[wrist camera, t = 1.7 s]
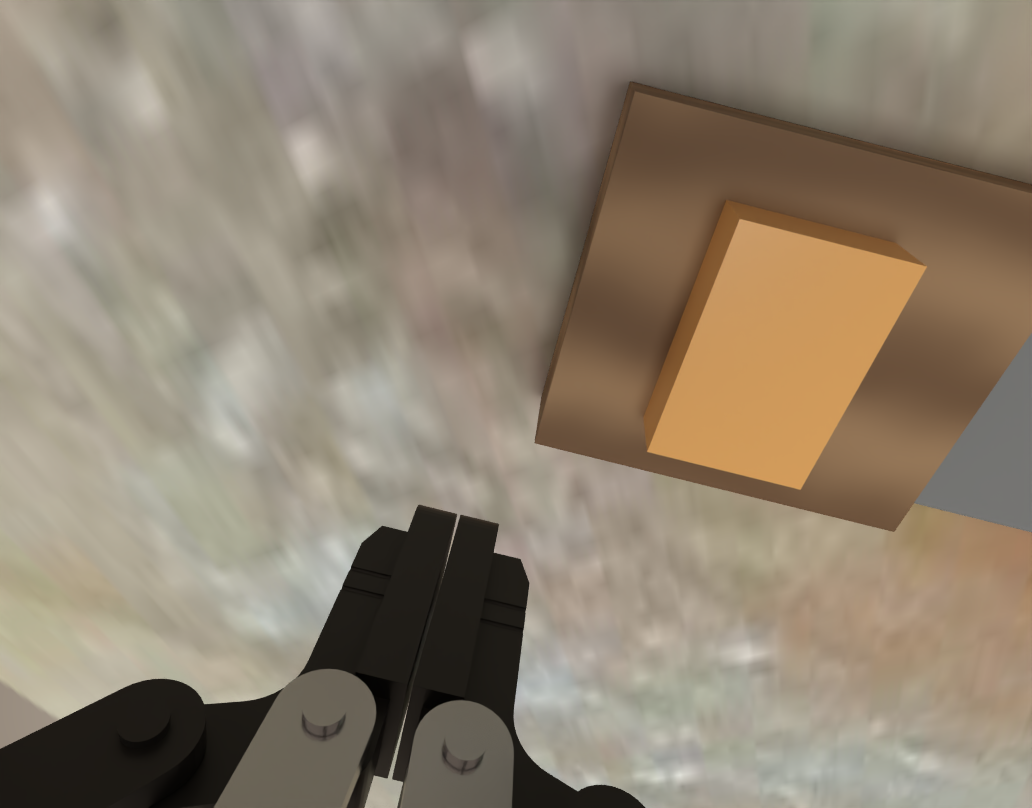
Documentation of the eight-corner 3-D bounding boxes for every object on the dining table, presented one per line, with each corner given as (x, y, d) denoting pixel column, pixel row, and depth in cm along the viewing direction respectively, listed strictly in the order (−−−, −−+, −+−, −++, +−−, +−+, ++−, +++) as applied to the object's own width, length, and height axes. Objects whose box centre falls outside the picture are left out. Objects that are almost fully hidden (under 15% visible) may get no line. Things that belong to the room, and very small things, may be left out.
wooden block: (630, 81, 25) (635, 91, 21) (1042, 187, 25) (1113, 214, 21) (541, 397, 32) (534, 443, 28) (862, 476, 32) (894, 531, 29)
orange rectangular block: (726, 199, 22) (739, 219, 20) (896, 242, 23) (927, 266, 20) (643, 417, 27) (647, 452, 25) (784, 452, 27) (800, 489, 25)
